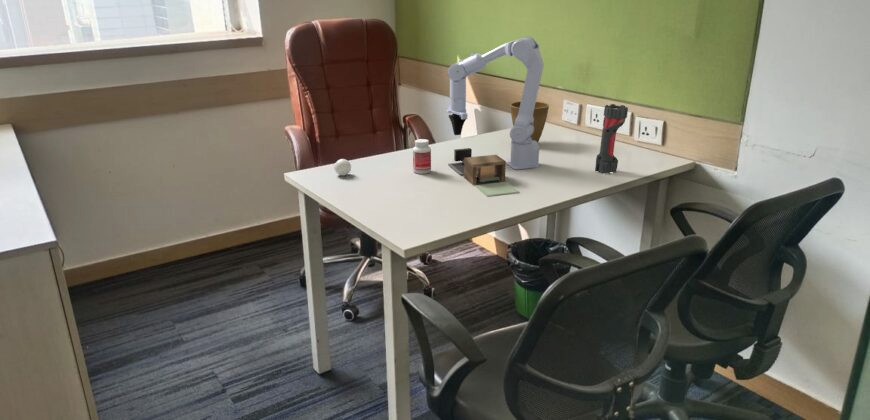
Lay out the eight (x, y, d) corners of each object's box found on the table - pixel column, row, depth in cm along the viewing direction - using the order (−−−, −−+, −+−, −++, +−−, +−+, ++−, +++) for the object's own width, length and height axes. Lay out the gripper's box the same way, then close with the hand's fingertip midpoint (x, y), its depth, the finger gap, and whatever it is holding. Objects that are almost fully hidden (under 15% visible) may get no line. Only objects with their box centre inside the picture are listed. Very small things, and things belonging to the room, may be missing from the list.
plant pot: (553, 143, 256) (556, 104, 251) (532, 151, 246) (535, 110, 240) (522, 137, 266) (524, 98, 260) (501, 144, 255) (502, 104, 249)
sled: (471, 158, 234) (471, 146, 233) (499, 179, 212) (500, 166, 210) (452, 160, 232) (453, 148, 231) (479, 181, 210) (480, 168, 208)
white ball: (355, 174, 220) (354, 159, 218) (342, 178, 216) (341, 162, 214) (340, 170, 225) (339, 154, 223) (327, 174, 221) (326, 158, 219)
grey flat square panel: (479, 162, 234) (479, 160, 234) (493, 172, 222) (493, 170, 222) (448, 165, 230) (448, 163, 230) (461, 176, 219) (461, 174, 218)
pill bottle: (434, 172, 223) (434, 141, 219) (419, 175, 219) (419, 144, 215) (424, 167, 227) (424, 137, 223) (409, 170, 224) (409, 139, 220)
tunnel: (495, 174, 220) (495, 154, 218) (505, 181, 213) (505, 161, 211) (464, 177, 217) (464, 157, 214) (472, 185, 210) (473, 164, 207)
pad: (506, 182, 212) (506, 181, 212) (519, 192, 203) (519, 191, 203) (475, 186, 209) (475, 185, 209) (487, 196, 200) (487, 195, 200)
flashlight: (625, 172, 222) (632, 106, 214) (611, 176, 218) (618, 109, 209) (607, 166, 228) (613, 102, 220) (592, 171, 223) (598, 105, 215)
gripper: (440, 94, 235) (440, 130, 240) (454, 102, 222) (453, 140, 227) (458, 93, 237) (458, 129, 242) (473, 100, 224) (472, 138, 229)
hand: (457, 134), depth 235 cm, fingers closed
